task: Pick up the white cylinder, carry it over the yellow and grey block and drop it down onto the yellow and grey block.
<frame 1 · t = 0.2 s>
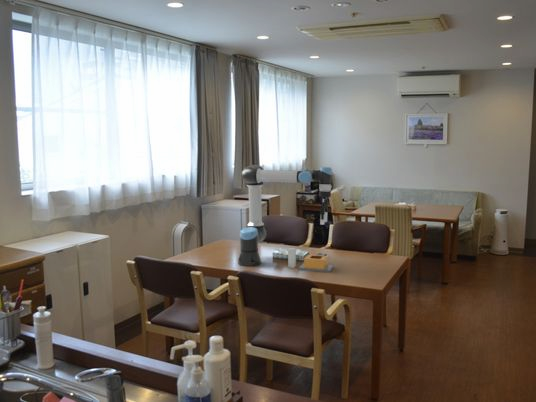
hand: (323, 223, 329), 27 cm above the table, tool pointing down, fingers open, 13 cm apart
white cylinder: (292, 266, 326), on the table
yellow and grey block: (316, 268, 320), on the table
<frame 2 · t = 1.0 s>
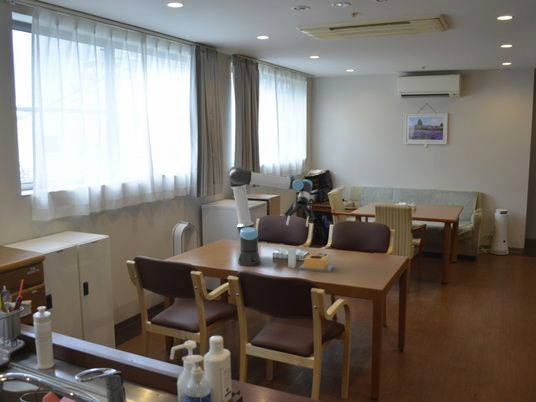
hand: (296, 225, 332), 26 cm above the table, tool tilted 45°, fingers open, 13 cm apart
nothing on the table moved.
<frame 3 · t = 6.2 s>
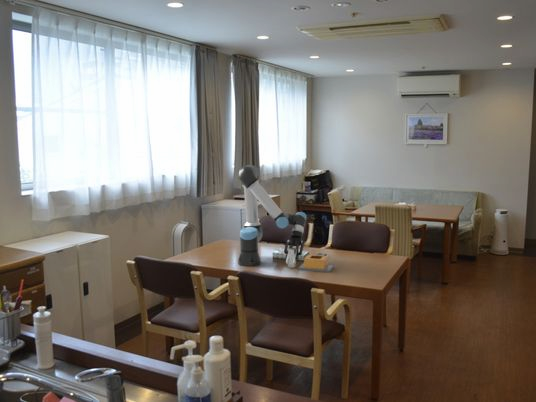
hand: (290, 263, 322), 3 cm above the table, tool tilted 45°, fingers closed on white cylinder, 4 cm apart
white cylinder: (292, 266, 326), on the table, touching gripper
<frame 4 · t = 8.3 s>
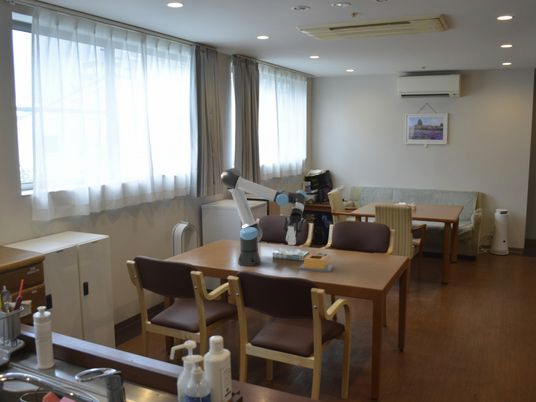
hand: (290, 240, 320), 18 cm above the table, tool tilted 45°, fingers closed on white cylinder, 4 cm apart
white cylinder: (291, 244, 324), point 15 cm above the table, touching gripper
when the fingers open (12 cm above the table, at t = 10.7 s): white cylinder drops 7 cm, resting on yellow and grey block.
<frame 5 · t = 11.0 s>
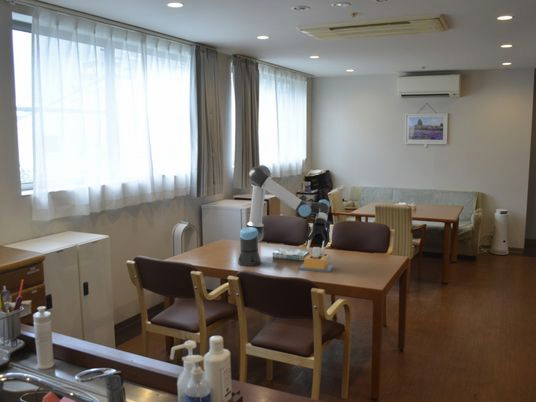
hand: (314, 250, 316), 13 cm above the table, tool tilted 45°, fingers open, 9 cm apart
white cylinder: (316, 266, 320), point 1 cm above the table, touching yellow and grey block
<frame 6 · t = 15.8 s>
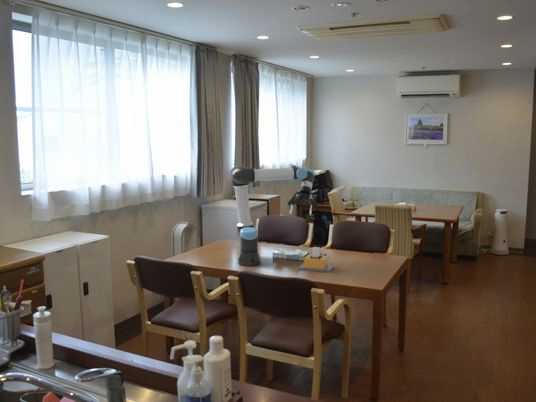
hand: (300, 214, 332), 33 cm above the table, tool tilted 45°, fingers open, 13 cm apart
nothing on the table moved.
at the end: white cylinder 0.1 cm off-centre on the yellow and grey block, point 1.5 cm above the yellow and grey block's base; white cylinder tilted 0°; the gripper is holding nothing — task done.
